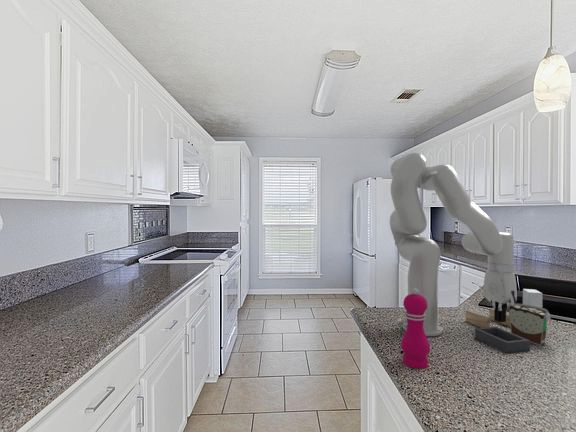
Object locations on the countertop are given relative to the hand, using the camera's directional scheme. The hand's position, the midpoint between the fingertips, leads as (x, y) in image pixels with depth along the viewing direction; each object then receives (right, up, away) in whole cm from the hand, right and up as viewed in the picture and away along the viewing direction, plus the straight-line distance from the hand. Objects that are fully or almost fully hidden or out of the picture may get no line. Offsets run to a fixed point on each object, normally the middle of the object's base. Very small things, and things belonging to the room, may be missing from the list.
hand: (500, 321), depth 116 cm
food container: (+4, -3, -9) cm, 11 cm away
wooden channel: (-1, -3, +4) cm, 5 cm away
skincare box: (+14, -3, +5) cm, 15 cm away
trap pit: (-8, -3, -14) cm, 16 cm away
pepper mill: (-39, -3, -26) cm, 47 cm away
